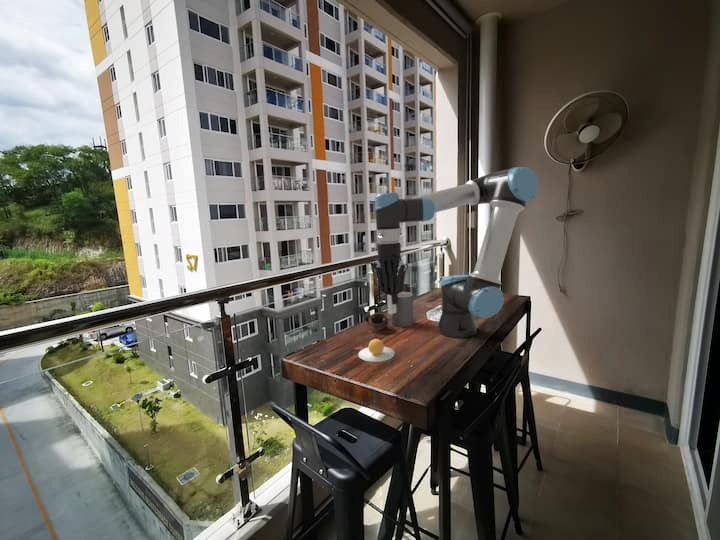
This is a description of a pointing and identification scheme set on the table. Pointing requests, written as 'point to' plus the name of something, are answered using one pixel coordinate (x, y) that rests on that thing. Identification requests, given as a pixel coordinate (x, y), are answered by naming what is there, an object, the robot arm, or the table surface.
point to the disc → (370, 357)
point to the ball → (376, 346)
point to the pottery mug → (376, 321)
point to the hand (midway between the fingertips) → (392, 313)
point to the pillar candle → (403, 310)
